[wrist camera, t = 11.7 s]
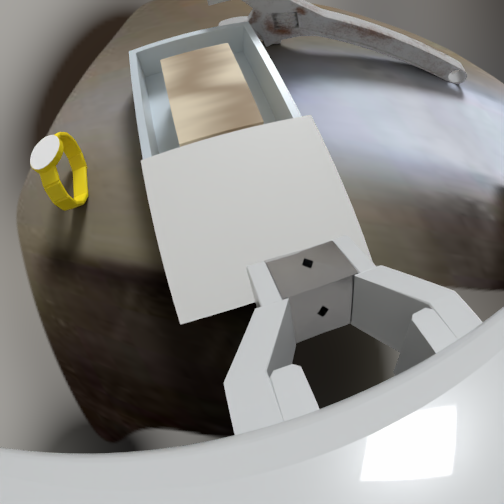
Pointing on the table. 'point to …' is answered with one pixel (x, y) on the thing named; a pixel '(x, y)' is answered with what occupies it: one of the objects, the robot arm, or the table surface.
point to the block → (208, 94)
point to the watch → (45, 165)
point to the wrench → (342, 33)
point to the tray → (236, 35)
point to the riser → (242, 209)
